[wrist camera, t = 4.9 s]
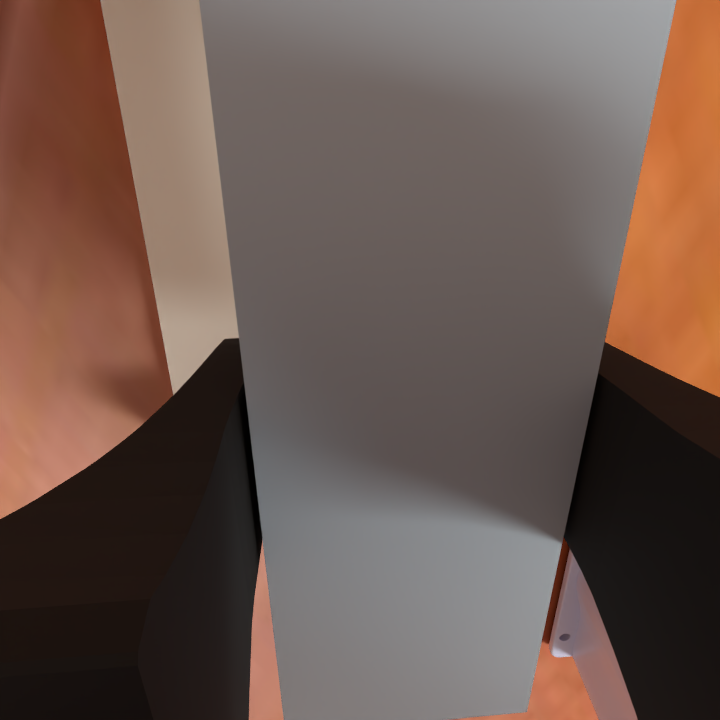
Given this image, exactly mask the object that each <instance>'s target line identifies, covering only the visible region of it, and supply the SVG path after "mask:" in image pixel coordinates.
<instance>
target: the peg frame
mask: <svg viewBox="0 0 720 720" xmlns="http://www.w3.org/2000/svg"><path fill="white" fill-rule="evenodd" d="M100 1H101V7H102V12H103V18H104V23H105V28H106V34H107V39H108V45H109V50H110V55H111V61H112V66H113V72H114V77H115V83H116V88H117V93H118V99H119V104H120V110H121V115H122V120H123V126H124V131H125V137H126V142H127V147H128V153H129V158H130V164H131V169H132V174H133V180H134V185H135V191H136V196H137V201H138V207H139V212H140V218H141V223H142V228H143V234H144V239H145V245H146V250H147V255H148V261H149V266H150V272H151V277H152V282H153V288H154V293H155V299H156V304H157V310H158V315H159V320H160V326H161V331H162V337H163V342H164V347H165V353H166V358H167V364H168V369H169V374H170V380H171V385H172V391H173V395H174V394H175V393H176V392H177V391H178V390H179V389H180V388H181V387H182V386H183V384H184V383H185V382H186V381H187V380H188V379H189V378H190V377H191V376H192V375H193V374H194V372H195V371H196V370H197V369H198V368H199V367H200V366H201V365H202V363H203V362H204V361H205V360H206V359H207V358H208V356H209V355H210V354H211V353H212V352H213V351H214V349H215V348H216V347H217V346H218V345H219V344H220V343H221V342H222V341H223V340H224V339H229V338H239V334H238V326H237V317H236V309H235V300H234V292H233V283H232V275H231V266H230V258H229V249H228V241H227V232H226V224H225V215H224V207H223V198H222V190H221V181H220V173H219V165H218V156H217V148H216V139H215V131H214V122H213V114H212V105H211V97H210V88H209V80H208V71H207V63H206V54H205V46H204V37H203V29H202V20H201V12H200V3H199V0H100Z"/></svg>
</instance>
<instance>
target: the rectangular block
mask: <svg viewBox="0 0 720 720" xmlns="http://www.w3.org/2000/svg"><path fill="white" fill-rule="evenodd" d="M199 3H200V12H201V20H202V29H203V37H204V46H205V54H206V63H207V71H208V80H209V88H210V97H211V105H212V114H213V122H214V131H215V139H216V148H217V156H218V165H219V173H220V181H221V190H222V198H223V207H224V215H225V224H226V232H227V241H228V249H229V258H230V266H231V275H232V283H233V292H234V300H235V309H236V317H237V326H238V334H239V343H240V351H241V360H242V368H243V377H244V385H245V394H246V402H247V411H248V419H249V428H250V436H251V445H252V453H253V462H254V470H255V479H256V487H257V496H258V504H259V513H260V521H261V530H262V538H263V547H264V555H265V564H266V572H267V581H268V589H269V598H270V606H271V615H272V623H273V632H274V640H275V649H276V657H277V665H278V674H279V682H280V691H281V699H282V708H283V716H284V720H448V719H458V718H469V717H479V716H490V715H501V714H511V713H522V712H527V708H528V704H529V699H530V694H531V689H532V685H533V680H534V675H535V670H536V666H537V661H538V656H539V651H540V647H541V642H542V637H543V632H544V628H545V623H546V618H547V613H548V608H549V604H550V599H551V594H552V589H553V585H554V580H555V575H556V570H557V566H558V561H559V556H560V551H561V547H562V542H563V537H564V532H565V528H566V523H567V518H568V513H569V509H570V504H571V499H572V494H573V490H574V485H575V480H576V475H577V470H578V466H579V461H580V456H581V451H582V447H583V442H584V437H585V432H586V428H587V423H588V418H589V413H590V409H591V404H592V399H593V394H594V390H595V385H596V380H597V375H598V371H599V366H600V361H601V356H602V351H603V347H604V342H605V337H606V332H607V328H608V323H609V318H610V313H611V309H612V304H613V299H614V294H615V290H616V285H617V280H618V275H619V271H620V266H621V261H622V256H623V252H624V247H625V242H626V237H627V233H628V228H629V223H630V218H631V213H632V209H633V204H634V199H635V194H636V190H637V185H638V180H639V175H640V171H641V166H642V161H643V156H644V152H645V147H646V142H647V137H648V133H649V128H650V123H651V118H652V114H653V109H654V104H655V99H656V94H657V90H658V85H659V80H660V75H661V71H662V66H663V61H664V56H665V52H666V47H667V42H668V37H669V33H670V28H671V23H672V18H673V14H674V9H675V4H676V0H199Z"/></svg>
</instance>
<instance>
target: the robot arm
mask: <svg viewBox="0 0 720 720" xmlns="http://www.w3.org/2000/svg"><path fill="white" fill-rule="evenodd" d="M564 538H565V540H566V542H567V544H568V546H569V548H570V550H569V555H568V559H567V564H566V569H565V573H564V578H563V582H562V587H561V592H560V596H559V601H558V605H557V610H556V615H555V619H554V624H553V628H552V633H551V638H550V642H549V649H550V652H551V654H552V655H553V656H555V657H568V656H573V659H574V661H575V664H576V666H577V668H578V671H579V673H580V676H581V678H582V680H583V683H584V685H585V688H586V690H587V692H588V695H589V697H590V700H591V702H592V704H593V707H594V709H595V711H596V714H597V716H598V719H599V720H720V397H717V396H715V395H713V394H711V393H708V392H706V391H704V390H702V389H699V388H697V387H695V386H693V385H690V384H688V383H686V382H684V381H682V380H679V379H677V378H675V377H673V376H671V375H669V374H667V373H665V372H663V371H661V370H659V369H657V368H655V367H653V366H651V365H649V364H647V363H645V362H643V361H641V360H639V359H637V358H635V357H633V356H631V355H629V354H627V353H625V352H623V351H621V350H619V349H617V348H615V347H613V346H611V345H610V344H608V343H606V342H604V347H603V351H602V356H601V361H600V366H599V371H598V375H597V380H596V385H595V390H594V394H593V399H592V404H591V409H590V413H589V418H588V423H587V428H586V432H585V437H584V442H583V447H582V451H581V456H580V461H579V466H578V470H577V475H576V480H575V485H574V490H573V494H572V499H571V504H570V509H569V513H568V518H567V523H566V528H565V532H564ZM261 546H262V530H261V521H260V513H259V504H258V496H257V487H256V479H255V470H254V462H253V453H252V445H251V436H250V428H249V419H248V411H247V402H246V394H245V385H244V377H243V368H242V360H241V351H240V343H239V338H229V339H224V340H223V341H222V342H221V343H220V344H219V345H218V346H217V347H216V348H215V349H214V351H213V352H212V353H211V354H210V355H209V356H208V358H207V359H206V360H205V361H204V362H203V363H202V365H201V366H200V367H199V368H198V369H197V370H196V371H195V372H194V374H193V375H192V376H191V377H190V378H189V379H188V380H187V381H186V382H185V383H184V384H183V386H182V387H181V388H180V389H179V390H178V391H177V392H176V393H175V394H174V395H173V396H172V397H171V398H170V399H169V400H168V401H167V402H166V403H165V404H164V405H163V406H162V407H161V408H160V409H159V410H158V411H157V412H156V413H154V414H153V415H152V416H151V417H150V418H149V419H148V420H147V421H146V422H145V423H144V424H143V425H142V426H140V427H139V428H138V429H137V430H136V431H135V432H133V433H132V434H131V435H130V436H129V437H127V438H126V439H125V440H124V441H122V442H121V443H120V444H119V445H117V446H116V447H114V448H113V449H112V450H110V451H109V452H108V453H106V454H105V455H104V456H102V457H101V458H100V459H98V460H97V461H96V462H94V463H93V464H91V465H90V466H88V467H87V468H86V469H84V470H82V471H81V472H79V473H78V474H76V475H74V476H73V477H71V478H70V479H68V480H66V481H65V482H63V483H62V484H60V485H58V486H57V487H55V488H54V489H52V490H51V491H49V492H47V493H46V494H44V495H43V496H41V497H39V498H38V499H36V500H35V501H33V502H31V503H29V504H28V505H26V506H24V507H22V508H20V509H18V510H17V511H15V512H13V513H11V514H9V515H7V516H6V517H4V518H2V519H0V720H249V687H250V659H251V632H252V616H253V605H254V595H255V588H256V581H257V574H258V567H259V560H260V553H261Z"/></svg>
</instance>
